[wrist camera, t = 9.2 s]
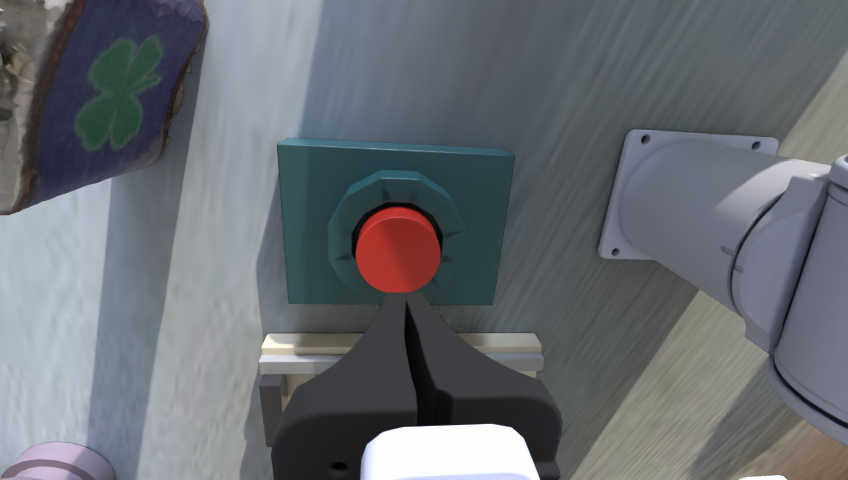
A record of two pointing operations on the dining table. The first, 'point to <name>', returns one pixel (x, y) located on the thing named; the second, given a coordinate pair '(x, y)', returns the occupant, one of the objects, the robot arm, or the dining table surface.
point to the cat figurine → (59, 464)
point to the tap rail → (316, 352)
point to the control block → (384, 187)
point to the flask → (88, 90)
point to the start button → (397, 250)
